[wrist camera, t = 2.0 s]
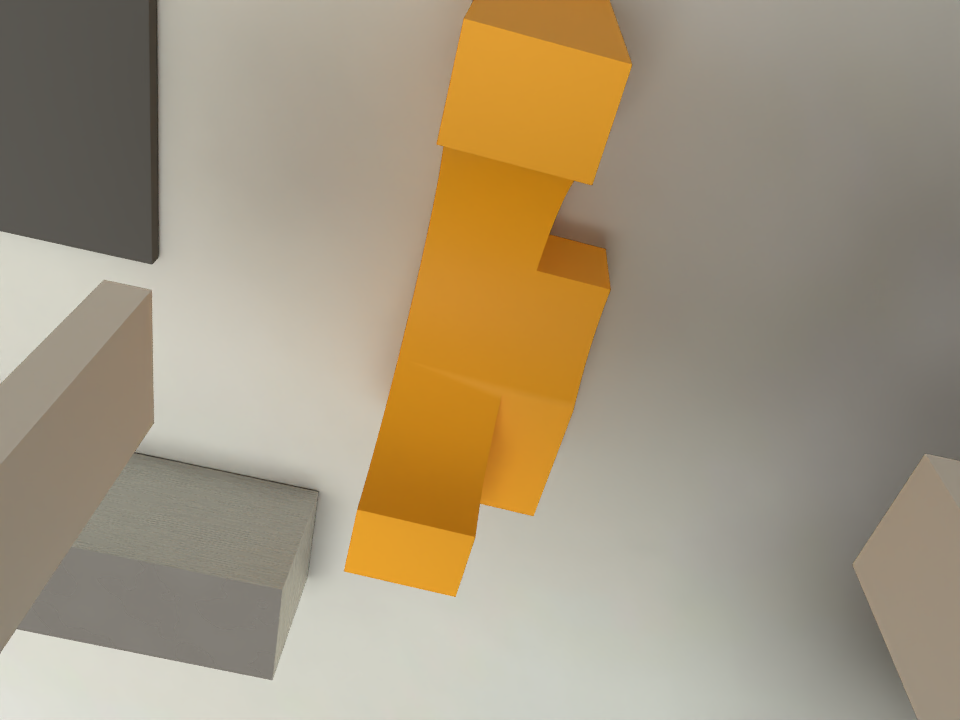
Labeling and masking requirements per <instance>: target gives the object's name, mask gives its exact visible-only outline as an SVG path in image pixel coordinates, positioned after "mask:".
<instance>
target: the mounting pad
mask: <svg viewBox="0 0 960 720" xmlns="http://www.w3.org/2000/svg"><path fill="white" fill-rule="evenodd" d="M0 231H3V232H7V233H12V234H16V235H21V236H25V237H30V238H34V239H39V240H43V241H48V242H52V243H57V244H62V245H66V246H71V247H75V248H80V249H84V250H89V251H93V252H98V253H102V254H107V255H111V256H116V257H121V258H125V259H130V260H134V261H139V262H143V263H148V264H153V263H154V262H155V261H156V260H157V259H158V151H157V21H156V0H0Z"/></svg>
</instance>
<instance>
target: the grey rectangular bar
mask: <svg viewBox="0 0 960 720" xmlns="http://www.w3.org/2000/svg"><path fill="white" fill-rule="evenodd" d="M318 493H319V492H318V491H313V490H308V489H303V488H299V487H294V486H289V485H284V484H280V483H275V482H270V481H265V480H261V479H256V478H251V477H246V476H242V475H237V474H232V473H227V472H222V471H218V470H213V469H208V468H203V467H199V466H194V465H189V464H184V463H180V462H175V461H170V460H165V459H161V458H156V457H151V456H146V455H142V454H137V453H134V454H133V455H132V457H131V458H130V460H129V461H128V463H127V464H126V466H125V467H124V468H123V470H122V471H121V473H120V474H119V476H118V477H117V479H116V480H115V482H114V483H113V485H112V486H111V488H110V489H109V491H108V492H107V494H106V495H105V497H104V498H103V500H102V501H101V503H100V504H99V506H98V507H97V509H96V510H95V512H94V513H93V515H92V516H91V518H90V519H89V521H88V522H87V524H86V525H85V527H84V528H83V530H82V531H81V533H80V534H79V536H78V537H77V539H76V540H75V542H74V543H73V545H72V546H71V548H70V549H69V551H68V552H67V554H66V555H65V557H64V558H63V560H62V561H61V563H60V564H59V566H58V567H57V569H56V570H55V572H54V573H53V575H52V576H51V578H50V579H49V581H48V582H47V584H46V585H45V587H44V588H43V590H42V591H41V593H40V594H39V596H38V597H37V599H36V600H35V602H34V603H33V605H32V606H31V608H30V609H29V611H28V612H27V614H26V615H25V617H24V618H23V620H22V621H21V623H20V624H19V626H18V627H17V629H19V630H24V631H29V632H34V633H39V634H44V635H49V636H54V637H59V638H64V639H69V640H74V641H79V642H84V643H89V644H94V645H99V646H104V647H109V648H114V649H119V650H124V651H129V652H134V653H139V654H144V655H149V656H154V657H159V658H164V659H169V660H174V661H179V662H184V663H189V664H194V665H199V666H204V667H209V668H214V669H219V670H224V671H229V672H234V673H239V674H244V675H249V676H254V677H259V678H264V679H269V680H273V677H274V674H275V671H276V668H277V665H278V663H279V660H280V657H281V654H282V651H283V648H284V645H285V642H286V639H287V636H288V633H289V630H290V627H291V624H292V621H293V619H294V616H295V613H296V610H297V607H298V604H299V601H300V598H301V595H302V592H303V589H304V586H305V583H306V580H307V576H308V568H309V561H310V553H311V546H312V538H313V531H314V523H315V516H316V508H317V501H318Z"/></svg>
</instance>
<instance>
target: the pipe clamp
mask: <svg viewBox="0 0 960 720" xmlns="http://www.w3.org/2000/svg"><path fill="white" fill-rule="evenodd" d="M631 67H632V62H631V59H630V57H629V54H628V51H627V48H626V45H625V43H624V40H623V37H622V34H621V31H620V28H619V26H618V23H617V20H616V17H615V14H614V11H613V9H612V6H611V3H610V0H473V2H472V4H471V6H470V8H469V10H468V12H467V13H466V15H465V17H464V20H463V24H462V29H461V34H460V38H459V43H458V47H457V52H456V57H455V61H454V66H453V70H452V75H451V80H450V84H449V89H448V94H447V98H446V103H445V107H444V112H443V117H442V121H441V126H440V130H439V135H438V140H437V145H441V146H443V153H442V160H441V166H440V172H439V178H438V183H437V189H436V194H435V199H434V204H433V209H432V214H431V219H430V223H429V228H428V233H427V237H426V242H425V247H424V251H423V256H422V260H421V265H420V269H419V273H418V278H417V282H416V286H415V291H414V295H413V299H412V303H411V308H410V312H409V316H408V320H407V324H406V329H405V333H404V337H403V341H402V345H401V349H400V353H399V357H398V361H397V365H396V369H395V373H394V377H393V381H392V385H391V389H390V393H389V396H388V400H387V404H386V408H385V412H384V416H383V419H382V423H381V427H380V431H379V434H378V438H377V442H376V446H375V449H374V453H373V456H372V460H371V464H370V467H369V471H368V474H367V478H366V481H365V485H364V488H363V492H362V495H361V499H360V502H359V506H358V509H357V513H356V518H355V523H354V527H353V532H352V536H351V541H350V546H349V550H348V555H347V559H346V564H345V569H344V571H345V572H349V573H354V574H358V575H362V576H367V577H371V578H375V579H380V580H384V581H389V582H393V583H397V584H402V585H406V586H410V587H415V588H419V589H423V590H428V591H432V592H436V593H441V594H445V595H450V596H454V597H456V594H457V591H458V588H459V585H460V582H461V579H462V576H463V573H464V570H465V567H466V564H467V561H468V558H469V555H470V552H471V549H472V546H473V543H474V540H475V536H476V528H477V520H478V514H479V507H480V504H484V505H488V506H493V507H497V508H501V509H505V510H510V511H514V512H518V513H522V514H526V515H531V516H534V513H535V511H536V508H537V505H538V503H539V500H540V497H541V495H542V492H543V489H544V487H545V484H546V482H547V479H548V476H549V474H550V471H551V468H552V466H553V463H554V460H555V458H556V455H557V453H558V450H559V447H560V445H561V442H562V439H563V437H564V434H565V431H566V429H567V426H568V423H569V421H570V418H571V416H572V413H573V410H574V406H575V402H576V398H577V394H578V390H579V386H580V382H581V378H582V375H583V371H584V367H585V364H586V360H587V357H588V354H589V350H590V347H591V344H592V341H593V338H594V335H595V331H596V328H597V326H598V323H599V320H600V317H601V314H602V311H603V309H604V306H605V303H606V301H607V298H608V295H609V293H610V290H611V288H610V280H609V272H608V264H607V256H606V249H604V248H600V247H596V246H592V245H588V244H584V243H580V242H577V241H573V240H569V239H565V238H561V237H557V236H553V235H550V231H551V228H552V226H553V223H554V221H555V218H556V216H557V214H558V211H559V209H560V207H561V204H562V202H563V200H564V198H565V196H566V194H567V192H568V190H569V188H570V187H571V185H572V183H573V182H574V181H577V182H581V183H585V184H589V185H592V184H593V181H594V178H595V175H596V172H597V169H598V166H599V163H600V160H601V157H602V154H603V151H604V148H605V145H606V142H607V139H608V136H609V133H610V130H611V127H612V124H613V121H614V118H615V115H616V112H617V109H618V106H619V103H620V100H621V97H622V94H623V91H624V88H625V85H626V82H627V79H628V76H629V73H630V70H631Z"/></svg>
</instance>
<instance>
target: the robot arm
mask: <svg viewBox="0 0 960 720" xmlns="http://www.w3.org/2000/svg"><path fill="white" fill-rule="evenodd" d="M153 424H154V399H153V337H152V290H150V289H145V288H140V287H135V286H131V285H126V284H121V283H117V282H112V281H107V280H103V281H102V282H101V283H100V284H99V285H98V286H97V287H96V288H95V289H94V290H93V291H92V292H91V293H90V294H89V295H88V296H87V297H86V298H85V299H84V300H83V301H82V302H81V303H80V304H79V305H78V306H77V307H76V308H75V309H74V311H73V312H72V313H71V314H70V315H69V316H68V317H67V318H66V319H65V320H64V321H63V322H62V323H61V324H60V325H59V326H58V327H57V328H56V329H55V330H54V331H53V332H52V333H51V334H50V335H49V336H48V337H47V338H46V339H45V340H44V341H43V342H42V343H41V344H40V345H39V346H38V347H37V348H36V349H35V350H34V351H33V352H32V353H31V354H30V355H29V356H28V357H27V358H26V359H25V360H24V361H23V362H22V363H21V364H20V365H19V366H18V367H17V368H16V369H15V370H14V371H13V372H12V373H11V374H10V375H9V376H8V377H7V378H6V379H5V380H4V381H3V382H2V383H1V384H0V653H1V651H2V650H3V648H4V647H5V645H6V644H7V642H8V641H9V639H10V638H11V636H12V635H13V633H14V632H15V630H16V629H17V627H18V626H19V624H20V623H21V621H22V620H23V618H24V617H25V615H26V614H27V612H28V611H29V609H30V608H31V606H32V605H33V603H34V602H35V600H36V599H37V597H38V596H39V594H40V593H41V591H42V590H43V588H44V587H45V585H46V584H47V582H48V581H49V579H50V578H51V576H52V575H53V573H54V572H55V570H56V569H57V567H58V566H59V564H60V563H61V561H62V560H63V558H64V557H65V555H66V554H67V552H68V551H69V549H70V548H71V546H72V545H73V543H74V542H75V540H76V539H77V537H78V536H79V534H80V533H81V531H82V530H83V528H84V527H85V525H86V524H87V522H88V521H89V519H90V518H91V516H92V515H93V513H94V512H95V510H96V509H97V507H98V506H99V504H100V503H101V501H102V500H103V498H104V497H105V495H106V494H107V492H108V491H109V489H110V488H111V486H112V485H113V483H114V482H115V480H116V479H117V477H118V476H119V474H120V473H121V471H122V470H123V468H124V467H125V466H126V464H127V463H128V461H129V460H130V458H131V457H132V455H133V454H134V452H135V451H136V449H137V448H138V446H139V445H140V443H141V442H142V440H143V439H144V437H145V436H146V434H147V433H148V431H149V430H150V428H151V427H152V425H153ZM852 565H853V567H854V570H855V572H856V575H857V577H858V579H859V582H860V584H861V586H862V589H863V591H864V594H865V596H866V598H867V601H868V603H869V605H870V608H871V610H872V613H873V615H874V617H875V620H876V622H877V624H878V627H879V629H880V632H881V634H882V636H883V639H884V641H885V643H886V646H887V648H888V650H889V653H890V655H891V658H892V660H893V662H894V665H895V667H896V669H897V672H898V674H899V677H900V679H901V681H902V684H903V686H904V688H905V691H906V693H907V696H908V698H909V700H910V703H911V705H912V707H913V710H914V712H915V715H916V717H917V719H918V720H960V461H958V460H953V459H949V458H944V457H939V456H934V455H930V454H925V455H924V456H923V458H922V459H921V461H920V462H919V464H918V465H917V467H916V468H915V470H914V471H913V473H912V474H911V476H910V477H909V479H908V481H907V482H906V484H905V485H904V487H903V488H902V490H901V491H900V493H899V494H898V496H897V497H896V499H895V500H894V502H893V503H892V505H891V506H890V508H889V509H888V511H887V512H886V514H885V515H884V517H883V519H882V520H881V522H880V523H879V525H878V526H877V528H876V529H875V531H874V532H873V534H872V535H871V537H870V538H869V540H868V541H867V543H866V544H865V546H864V547H863V549H862V550H861V552H860V553H859V555H858V557H857V558H856V560H855V561H854V563H853V564H852Z"/></svg>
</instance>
